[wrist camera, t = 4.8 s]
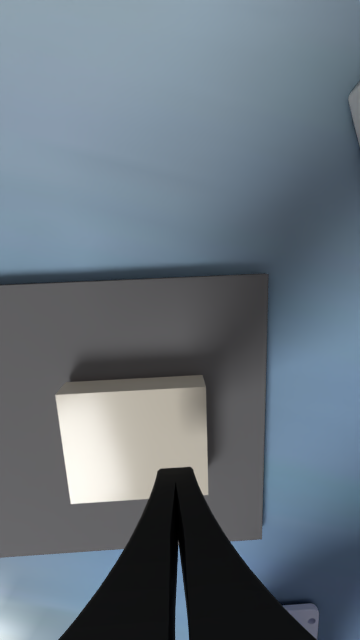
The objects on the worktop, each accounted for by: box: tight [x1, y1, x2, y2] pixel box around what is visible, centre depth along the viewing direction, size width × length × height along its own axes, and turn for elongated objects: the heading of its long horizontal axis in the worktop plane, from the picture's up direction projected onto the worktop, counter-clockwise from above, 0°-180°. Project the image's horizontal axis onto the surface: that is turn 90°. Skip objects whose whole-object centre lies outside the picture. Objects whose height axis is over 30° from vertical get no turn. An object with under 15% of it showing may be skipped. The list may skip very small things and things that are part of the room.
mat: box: [0, 273, 268, 558], centre depth 16 cm, size 16×16×1 cm
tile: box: [55, 375, 208, 504], centre depth 15 cm, size 6×2×7 cm
